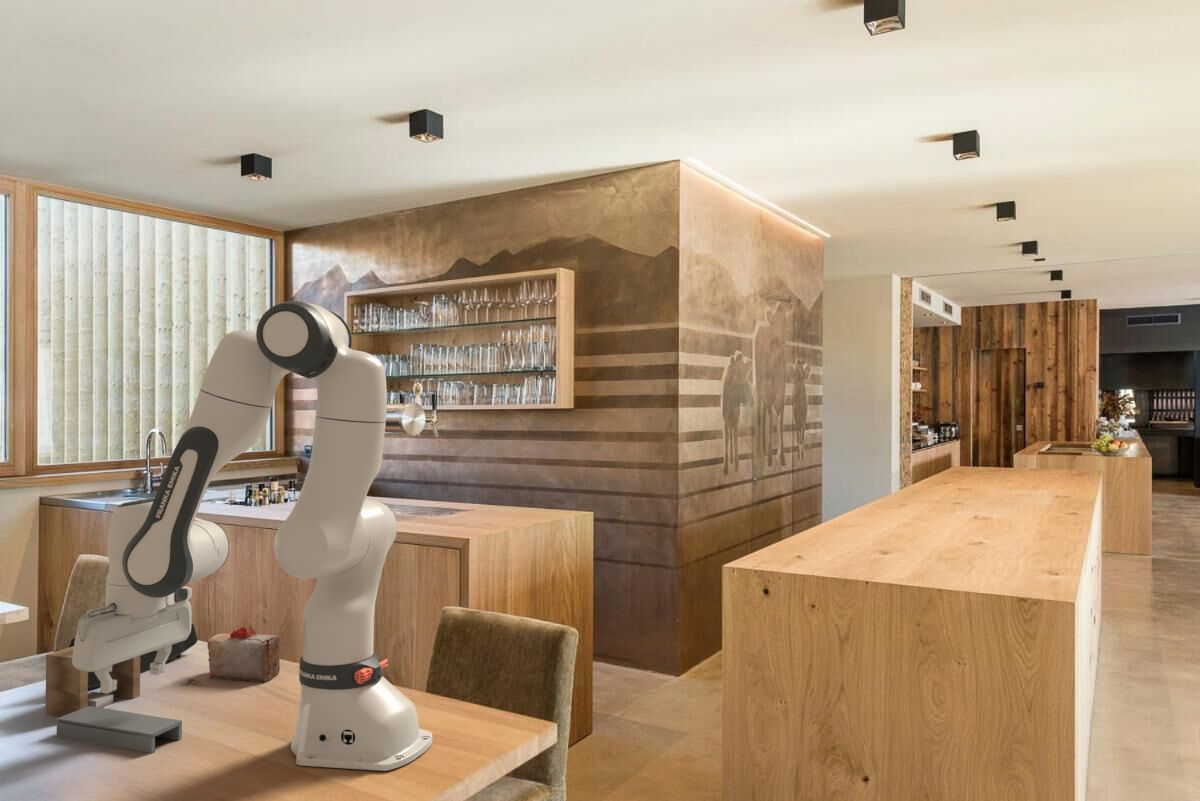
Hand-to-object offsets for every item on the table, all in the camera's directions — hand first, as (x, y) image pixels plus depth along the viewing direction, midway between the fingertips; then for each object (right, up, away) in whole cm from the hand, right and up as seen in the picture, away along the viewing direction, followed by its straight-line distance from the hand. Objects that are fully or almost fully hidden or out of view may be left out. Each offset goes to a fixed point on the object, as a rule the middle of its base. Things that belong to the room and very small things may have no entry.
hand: (133, 682), depth 136 cm
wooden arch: (-16, -10, +16) cm, 25 cm away
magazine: (-19, -10, +33) cm, 40 cm away
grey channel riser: (-3, -10, +1) cm, 10 cm away
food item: (+4, -10, +33) cm, 34 cm away
